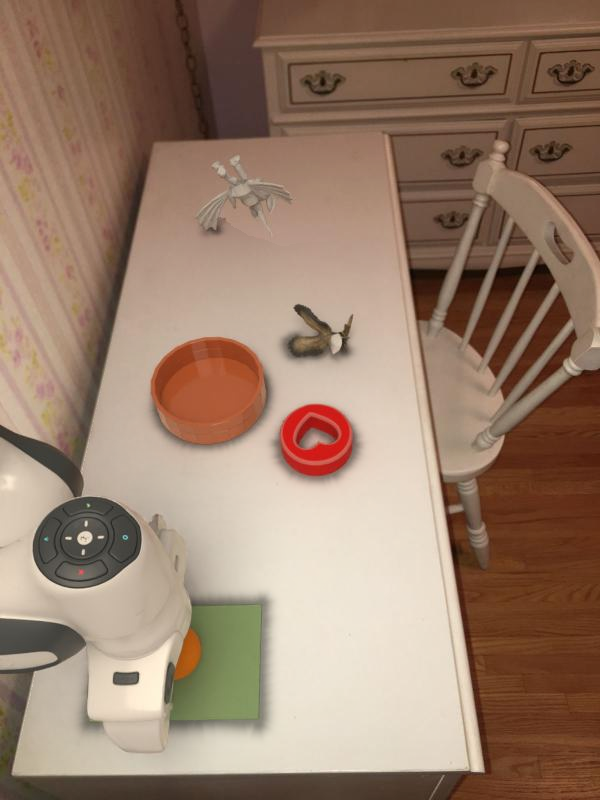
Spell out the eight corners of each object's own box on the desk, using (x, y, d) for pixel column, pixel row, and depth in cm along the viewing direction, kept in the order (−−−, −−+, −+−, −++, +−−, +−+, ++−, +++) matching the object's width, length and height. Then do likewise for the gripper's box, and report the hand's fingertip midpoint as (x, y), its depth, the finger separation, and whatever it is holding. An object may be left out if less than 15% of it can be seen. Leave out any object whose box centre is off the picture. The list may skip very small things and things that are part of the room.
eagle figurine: (350, 318, 99) (293, 306, 99) (356, 310, 92) (294, 297, 92) (341, 366, 99) (283, 354, 98) (345, 362, 92) (283, 349, 91)
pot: (199, 465, 86) (193, 447, 83) (137, 395, 94) (129, 376, 90) (288, 401, 92) (286, 382, 88) (223, 340, 99) (218, 320, 96)
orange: (173, 697, 69) (161, 684, 64) (145, 656, 72) (131, 641, 67) (215, 661, 71) (206, 646, 66) (186, 622, 74) (176, 606, 69)
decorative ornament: (322, 404, 91) (322, 391, 89) (366, 449, 86) (367, 437, 84) (267, 439, 88) (265, 427, 86) (309, 489, 83) (309, 477, 81)
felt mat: (89, 722, 68) (88, 721, 68) (108, 608, 75) (107, 608, 75) (258, 719, 68) (258, 718, 67) (261, 605, 75) (261, 604, 74)
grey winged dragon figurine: (309, 227, 110) (271, 177, 98) (220, 256, 117) (174, 212, 105) (307, 181, 114) (270, 127, 102) (220, 212, 121) (176, 165, 109)
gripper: (122, 507, 64) (153, 561, 75) (82, 738, 51) (126, 762, 63) (186, 505, 63) (207, 560, 75) (160, 737, 51) (191, 761, 62)
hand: (170, 654), depth 68 cm, fingers open, 8 cm apart
